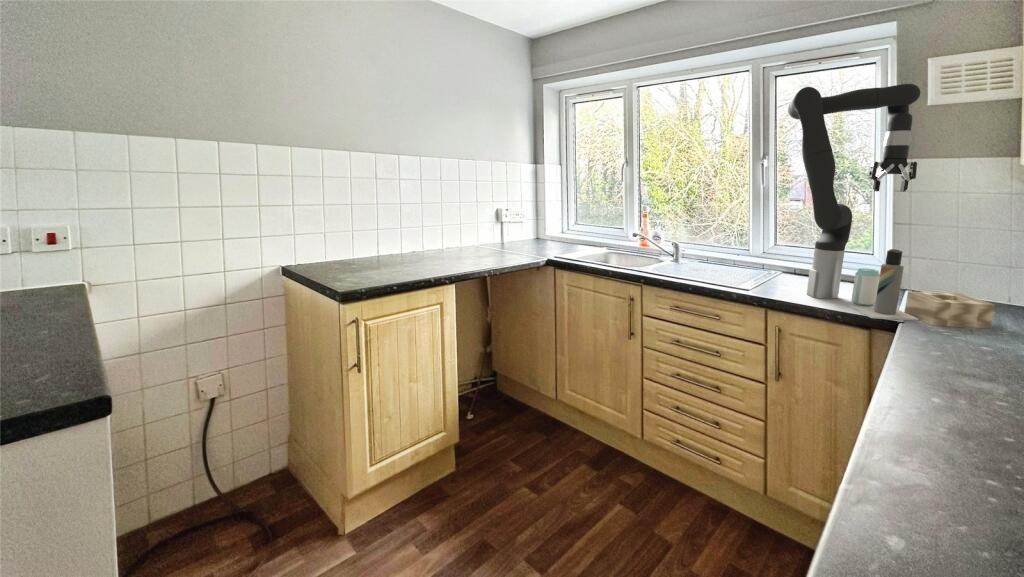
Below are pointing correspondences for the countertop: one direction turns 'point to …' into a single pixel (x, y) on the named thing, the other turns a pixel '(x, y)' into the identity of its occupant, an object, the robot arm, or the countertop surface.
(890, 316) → the grey mat
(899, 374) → the countertop surface
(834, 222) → the robot arm
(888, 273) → the lotion bottle
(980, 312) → the pocket holder
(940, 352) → the countertop surface
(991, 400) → the countertop surface
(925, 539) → the countertop surface
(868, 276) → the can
